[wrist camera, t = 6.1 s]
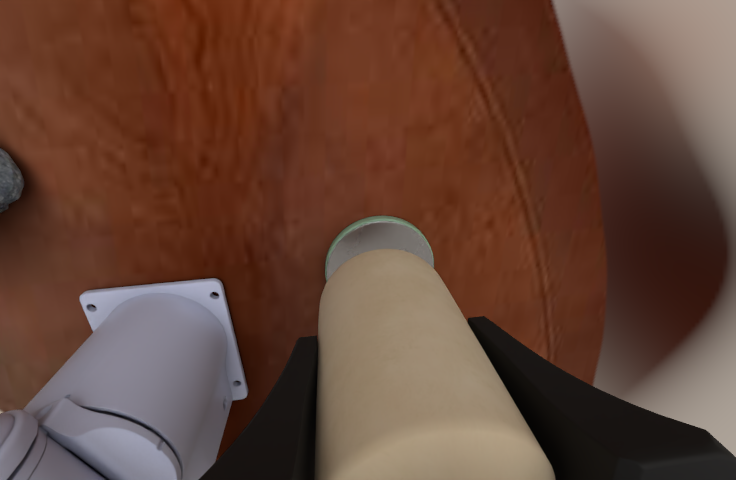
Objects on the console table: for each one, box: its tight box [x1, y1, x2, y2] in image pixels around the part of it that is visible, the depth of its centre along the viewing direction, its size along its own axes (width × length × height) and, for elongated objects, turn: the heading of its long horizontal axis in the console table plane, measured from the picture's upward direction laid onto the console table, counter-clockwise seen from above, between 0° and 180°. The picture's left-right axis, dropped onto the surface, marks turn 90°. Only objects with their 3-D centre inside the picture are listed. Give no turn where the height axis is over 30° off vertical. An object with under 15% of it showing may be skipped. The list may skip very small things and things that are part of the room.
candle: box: [314, 249, 555, 480], centre depth 11 cm, size 6×6×10 cm
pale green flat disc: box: [325, 216, 434, 282], centre depth 23 cm, size 7×7×1 cm
